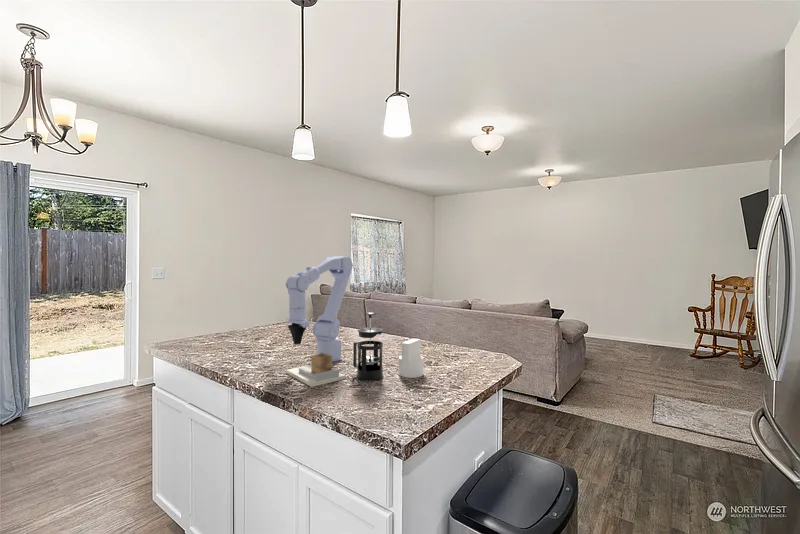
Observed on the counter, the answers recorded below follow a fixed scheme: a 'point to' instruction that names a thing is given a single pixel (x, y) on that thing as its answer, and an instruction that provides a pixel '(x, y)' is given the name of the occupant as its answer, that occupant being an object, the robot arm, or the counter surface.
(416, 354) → the cylinder with rectangular tab
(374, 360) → the french press
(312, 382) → the shallow rectangular tray
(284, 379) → the counter surface
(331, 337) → the robot arm
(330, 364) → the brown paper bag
